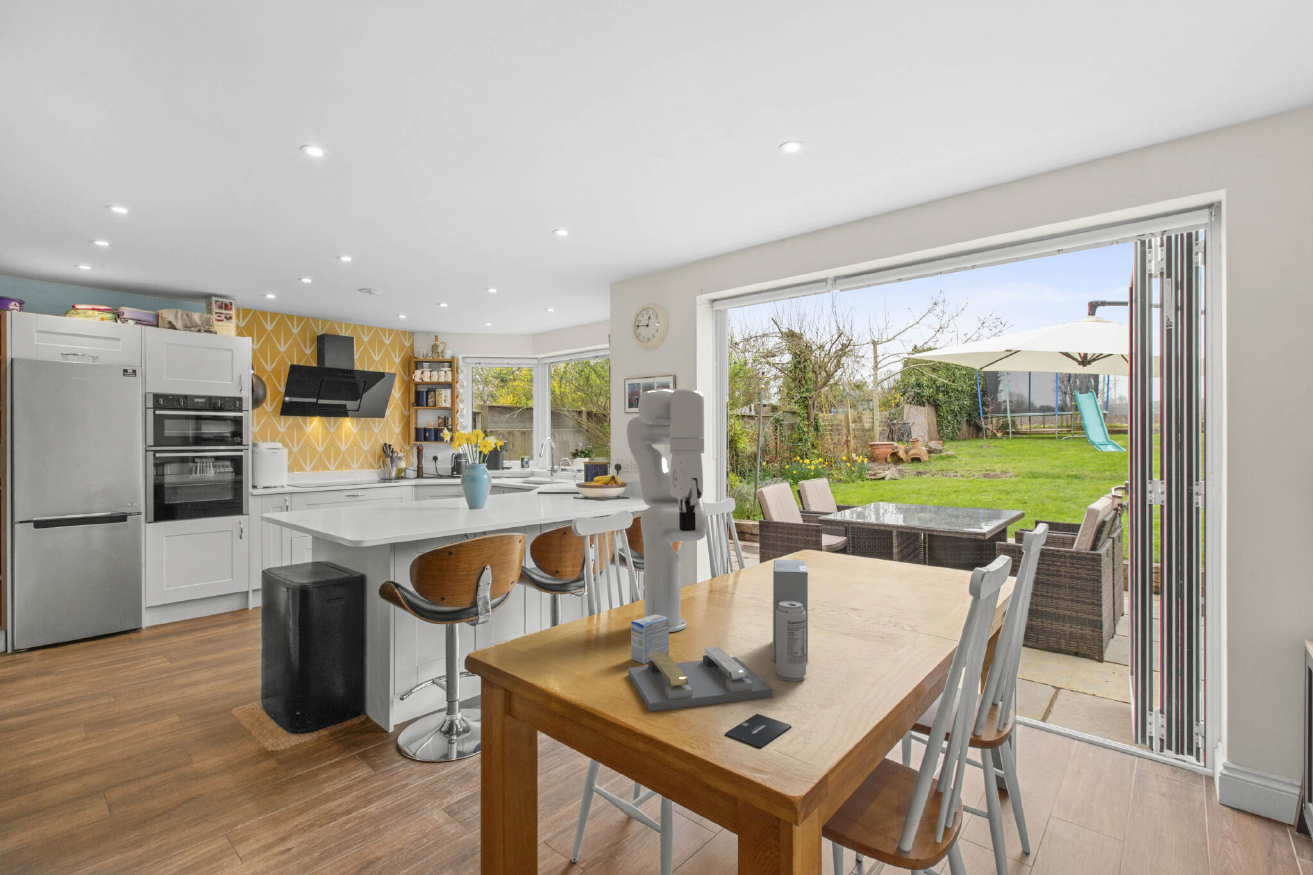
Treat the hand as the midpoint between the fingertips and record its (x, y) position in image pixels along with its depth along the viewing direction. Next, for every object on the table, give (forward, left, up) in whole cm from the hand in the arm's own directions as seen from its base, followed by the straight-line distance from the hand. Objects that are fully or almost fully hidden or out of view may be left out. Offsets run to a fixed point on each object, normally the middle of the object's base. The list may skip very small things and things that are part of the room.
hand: (687, 530), depth 134 cm
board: (+12, -2, -29) cm, 32 cm away
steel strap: (+12, +4, -26) cm, 29 cm away
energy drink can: (+13, +18, -29) cm, 37 cm away
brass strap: (+12, -8, -26) cm, 30 cm away
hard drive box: (-1, +25, -29) cm, 39 cm away
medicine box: (-6, -7, -29) cm, 31 cm away
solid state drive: (+33, +2, -30) cm, 44 cm away
